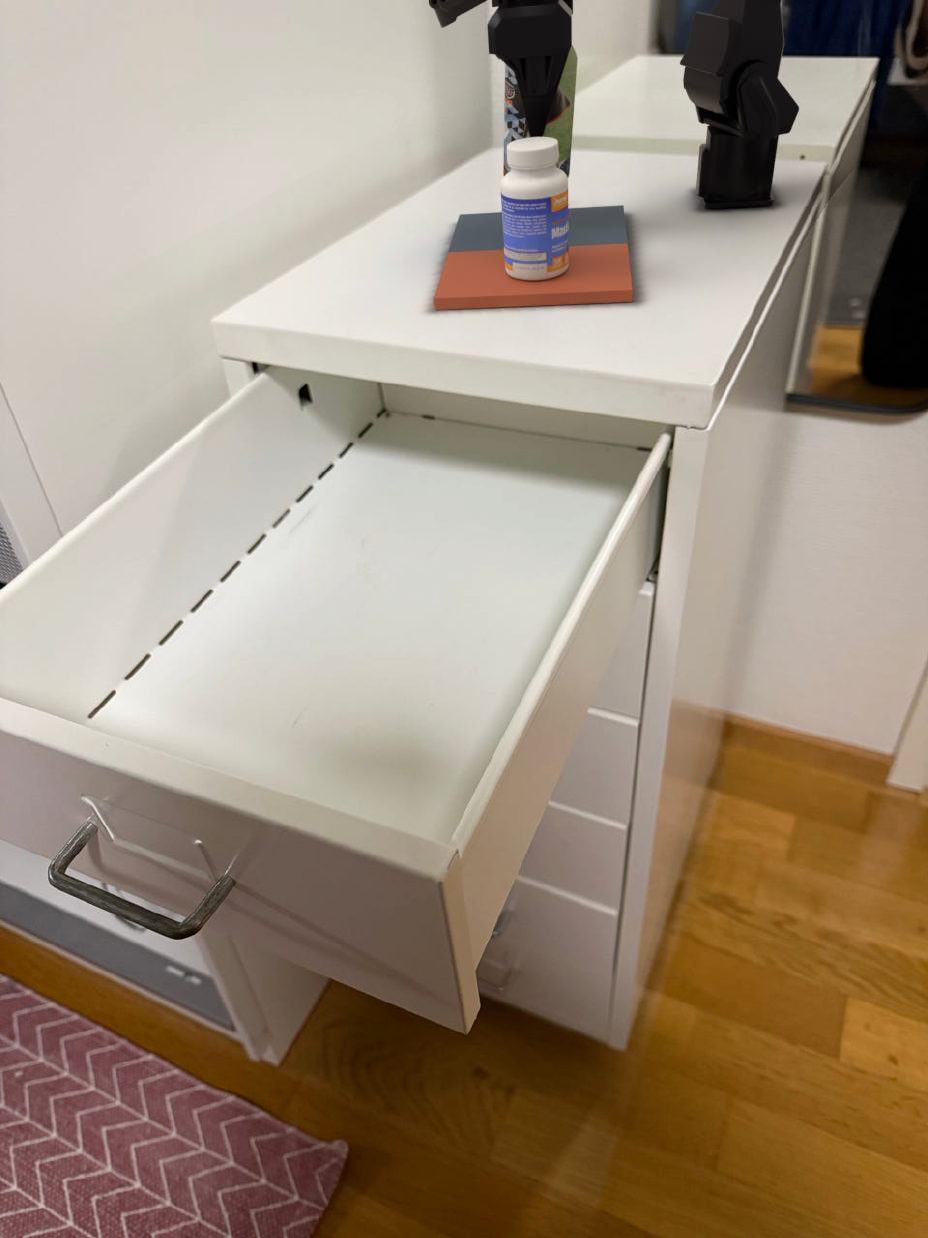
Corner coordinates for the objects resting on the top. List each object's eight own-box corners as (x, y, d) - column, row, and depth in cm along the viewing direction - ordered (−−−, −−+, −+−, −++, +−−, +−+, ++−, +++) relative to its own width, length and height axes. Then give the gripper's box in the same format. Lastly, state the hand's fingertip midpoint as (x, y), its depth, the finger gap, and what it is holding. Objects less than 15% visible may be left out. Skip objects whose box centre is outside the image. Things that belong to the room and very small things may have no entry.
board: (623, 215, 85) (623, 204, 85) (632, 301, 70) (633, 289, 69) (460, 224, 88) (459, 214, 87) (434, 310, 72) (433, 298, 71)
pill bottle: (565, 282, 72) (564, 151, 65) (499, 282, 73) (492, 153, 66) (572, 257, 75) (572, 131, 69) (510, 258, 77) (504, 134, 70)
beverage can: (528, 173, 84) (517, 25, 76) (595, 179, 80) (591, 23, 72) (490, 195, 80) (475, 41, 73) (558, 201, 77) (551, 40, 69)
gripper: (440, -97, 74) (457, 110, 85) (408, -79, 61) (433, 166, 71) (572, -111, 73) (573, 101, 83) (570, -96, 59) (572, 157, 69)
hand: (537, 129), depth 77 cm, fingers closed on beverage can, 5 cm apart
